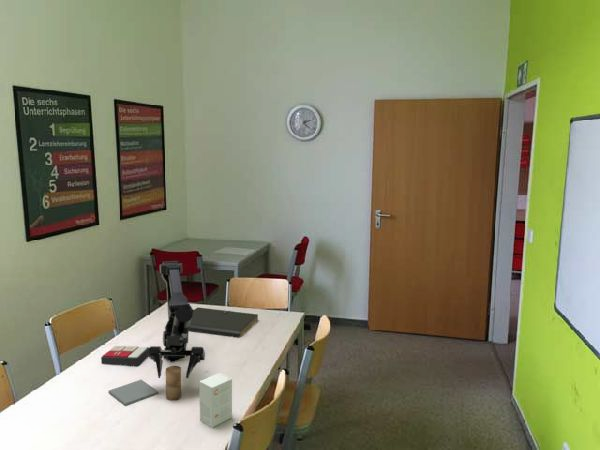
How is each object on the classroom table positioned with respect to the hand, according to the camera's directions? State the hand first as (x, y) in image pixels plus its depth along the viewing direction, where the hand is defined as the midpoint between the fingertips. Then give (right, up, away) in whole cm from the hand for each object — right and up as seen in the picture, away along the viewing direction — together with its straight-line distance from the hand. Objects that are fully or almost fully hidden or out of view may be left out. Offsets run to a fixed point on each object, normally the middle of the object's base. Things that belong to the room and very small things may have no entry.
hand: (172, 377), depth 161 cm
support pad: (-14, -6, +4) cm, 16 cm away
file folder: (+3, +2, +71) cm, 71 cm away
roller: (0, -7, +2) cm, 7 cm away
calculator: (-26, -3, +30) cm, 40 cm away
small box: (+16, -9, -11) cm, 22 cm away
